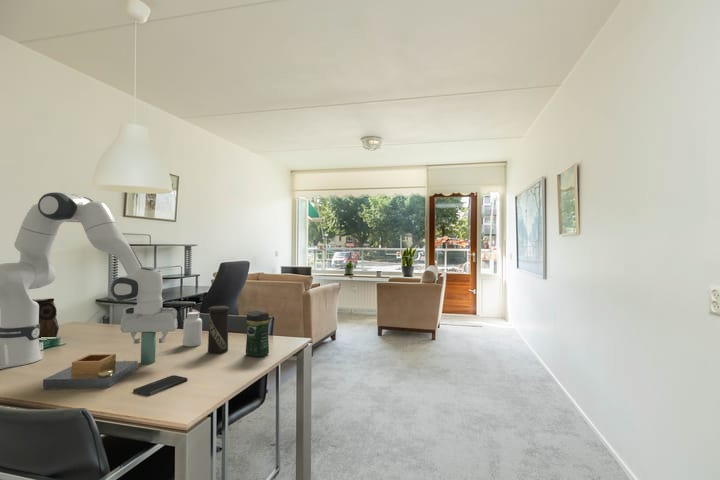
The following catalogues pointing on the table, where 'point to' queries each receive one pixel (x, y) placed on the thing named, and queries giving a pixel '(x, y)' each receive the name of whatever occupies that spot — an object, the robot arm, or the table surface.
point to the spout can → (148, 347)
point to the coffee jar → (257, 334)
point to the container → (218, 329)
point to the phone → (160, 385)
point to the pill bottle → (192, 330)
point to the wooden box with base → (91, 373)
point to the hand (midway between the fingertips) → (149, 343)
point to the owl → (47, 318)
